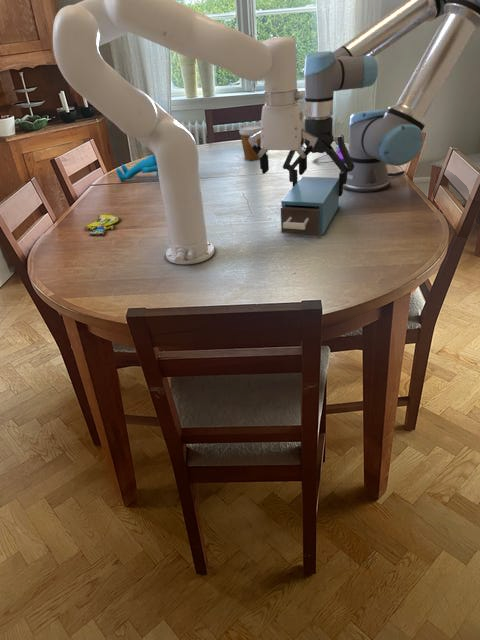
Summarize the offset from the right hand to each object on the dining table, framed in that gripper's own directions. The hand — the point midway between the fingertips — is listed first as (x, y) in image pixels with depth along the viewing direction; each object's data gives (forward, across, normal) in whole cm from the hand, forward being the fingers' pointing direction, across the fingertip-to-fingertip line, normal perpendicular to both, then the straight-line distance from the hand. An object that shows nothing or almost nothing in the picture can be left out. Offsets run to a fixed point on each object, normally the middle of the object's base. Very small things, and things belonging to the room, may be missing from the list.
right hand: (317, 193), depth 142 cm
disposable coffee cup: (+5, +40, -54) cm, 68 cm away
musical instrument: (+5, +7, -58) cm, 59 cm away
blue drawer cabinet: (+5, 0, +7) cm, 9 cm away
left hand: (-12, +4, +20) cm, 24 cm away
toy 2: (+5, +68, -23) cm, 72 cm away
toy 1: (+5, +61, +24) cm, 66 cm away
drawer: (+4, 0, +14) cm, 14 cm away
